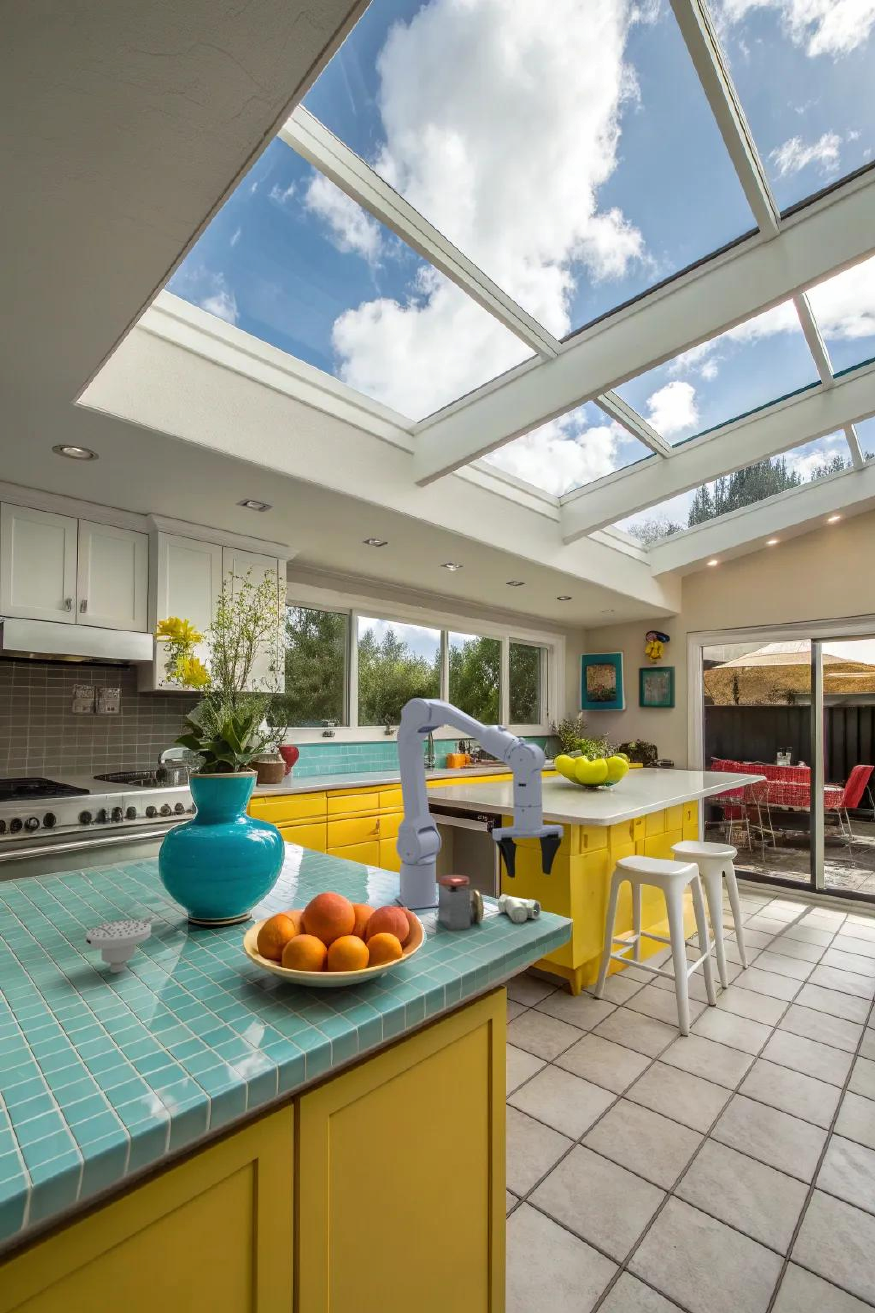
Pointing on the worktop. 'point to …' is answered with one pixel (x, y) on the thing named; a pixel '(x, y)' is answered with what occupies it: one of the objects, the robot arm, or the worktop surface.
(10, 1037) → the worktop surface
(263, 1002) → the worktop surface
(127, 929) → the showerhead
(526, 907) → the pipe fitting
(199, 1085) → the worktop surface
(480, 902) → the grey block with discs
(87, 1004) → the worktop surface
